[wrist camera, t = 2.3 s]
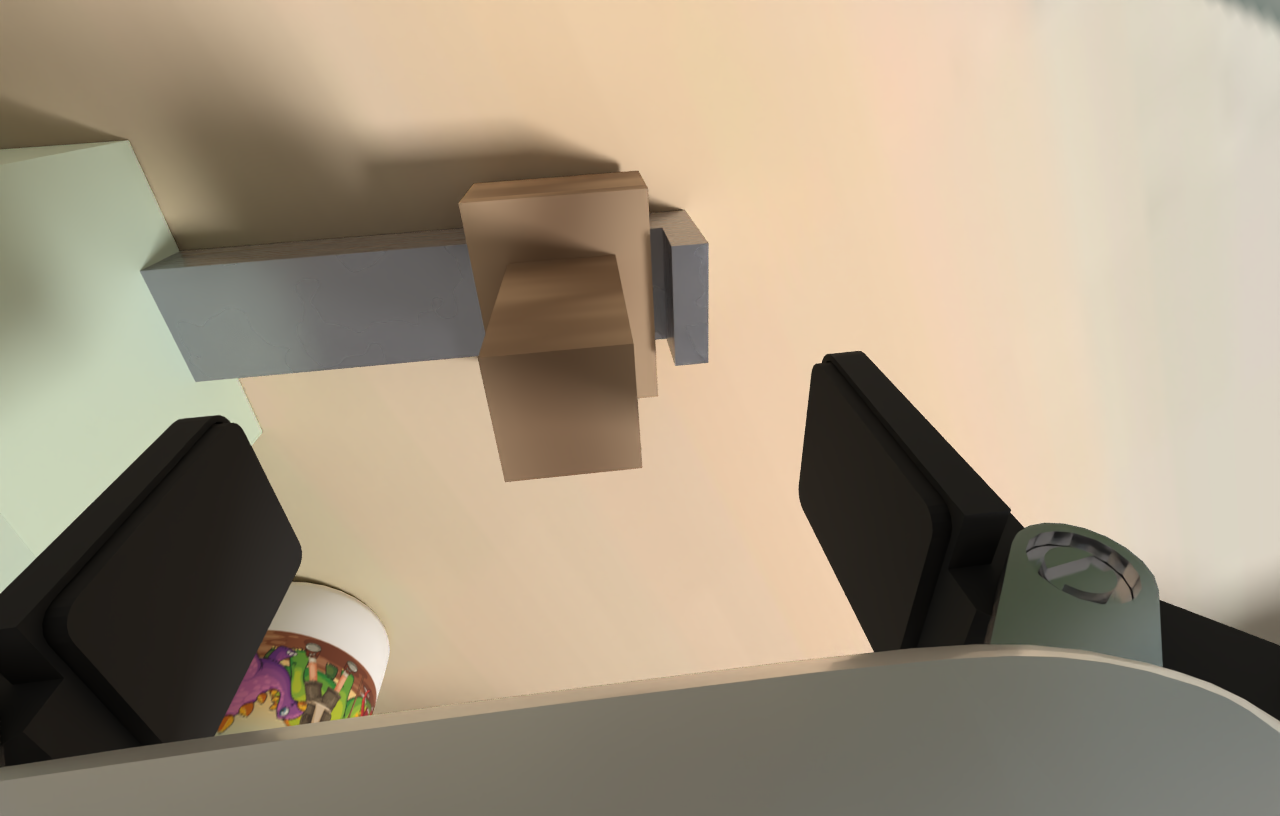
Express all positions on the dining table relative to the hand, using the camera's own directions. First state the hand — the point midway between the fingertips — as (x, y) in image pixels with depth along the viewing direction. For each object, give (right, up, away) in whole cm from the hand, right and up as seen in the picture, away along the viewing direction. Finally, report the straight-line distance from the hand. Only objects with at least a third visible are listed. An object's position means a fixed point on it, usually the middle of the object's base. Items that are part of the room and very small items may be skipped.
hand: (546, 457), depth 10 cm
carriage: (-1, +5, +10) cm, 12 cm away
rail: (-5, +5, +10) cm, 12 cm away
